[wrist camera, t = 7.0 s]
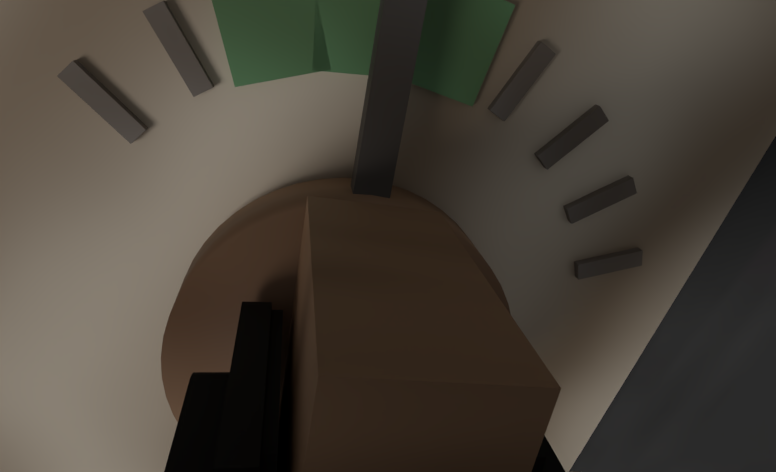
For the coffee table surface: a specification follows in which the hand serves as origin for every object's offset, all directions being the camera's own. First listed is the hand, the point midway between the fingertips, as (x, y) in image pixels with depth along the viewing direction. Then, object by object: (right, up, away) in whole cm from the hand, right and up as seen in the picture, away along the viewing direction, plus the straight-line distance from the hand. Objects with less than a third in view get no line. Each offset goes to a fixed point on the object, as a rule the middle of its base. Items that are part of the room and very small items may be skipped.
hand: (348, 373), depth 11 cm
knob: (0, +2, +1) cm, 2 cm away
